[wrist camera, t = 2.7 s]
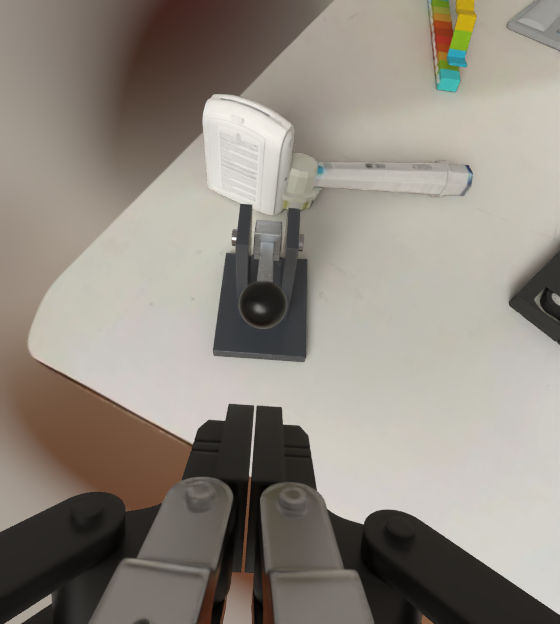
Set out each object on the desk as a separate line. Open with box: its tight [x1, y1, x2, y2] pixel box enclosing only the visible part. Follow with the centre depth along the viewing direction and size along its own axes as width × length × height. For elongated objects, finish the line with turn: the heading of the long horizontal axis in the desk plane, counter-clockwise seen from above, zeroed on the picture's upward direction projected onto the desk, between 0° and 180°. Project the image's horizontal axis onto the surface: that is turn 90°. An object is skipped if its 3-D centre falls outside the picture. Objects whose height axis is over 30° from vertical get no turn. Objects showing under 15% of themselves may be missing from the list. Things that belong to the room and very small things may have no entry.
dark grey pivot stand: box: [213, 204, 307, 362], centre depth 41 cm, size 12×9×13 cm
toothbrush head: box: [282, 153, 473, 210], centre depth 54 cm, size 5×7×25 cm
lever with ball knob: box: [239, 220, 287, 329], centre depth 33 cm, size 13×3×3 cm, turn 178°
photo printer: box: [203, 94, 295, 216], centre depth 50 cm, size 10×4×12 cm, turn 63°
